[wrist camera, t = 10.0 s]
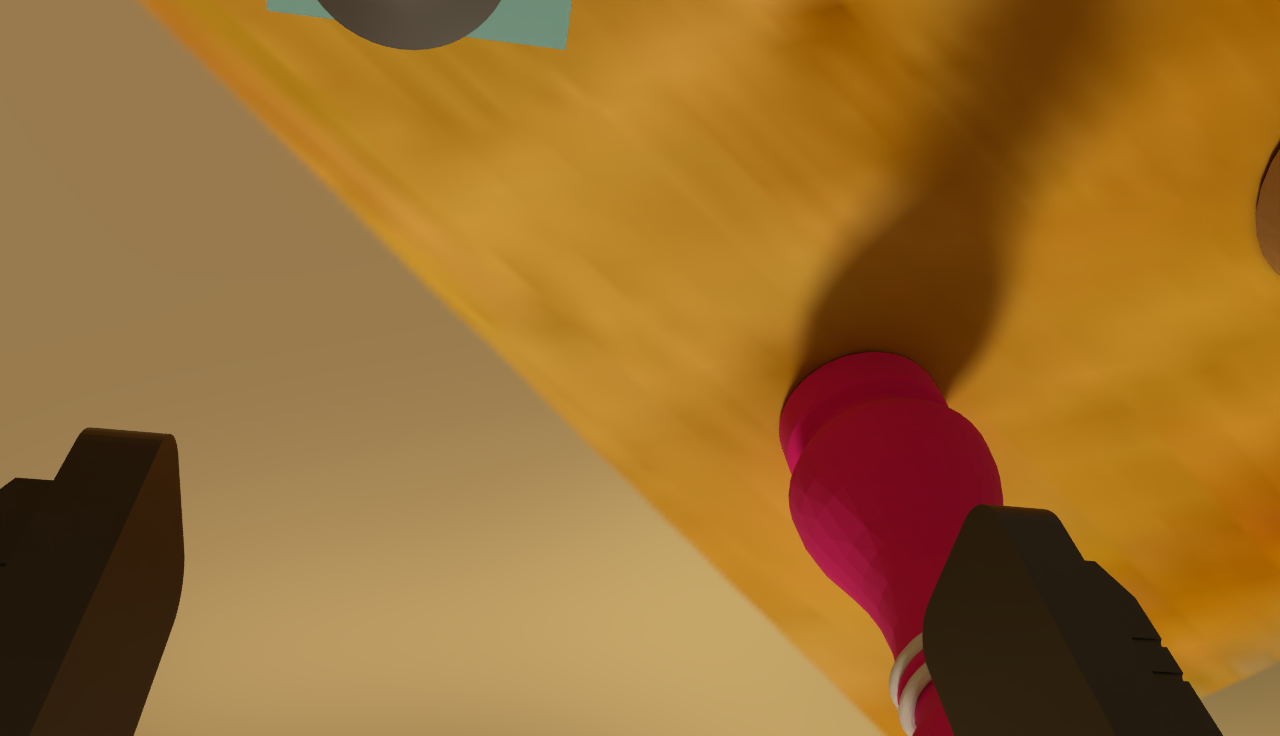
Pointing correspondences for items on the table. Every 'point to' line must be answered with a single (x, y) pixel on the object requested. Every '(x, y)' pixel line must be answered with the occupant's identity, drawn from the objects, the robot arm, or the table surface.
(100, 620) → the robot arm
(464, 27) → the pin
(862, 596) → the pepper mill
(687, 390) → the table surface
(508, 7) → the socket
